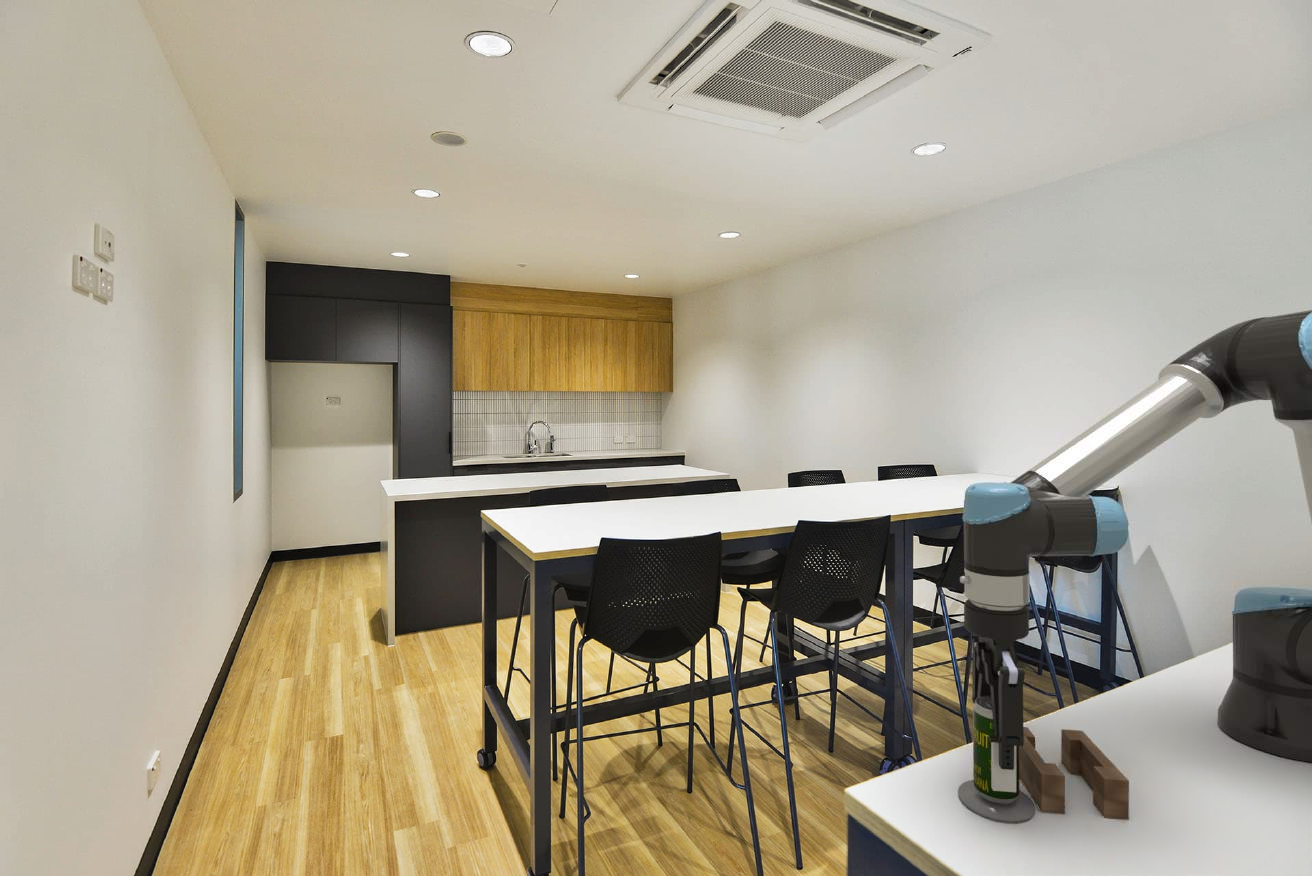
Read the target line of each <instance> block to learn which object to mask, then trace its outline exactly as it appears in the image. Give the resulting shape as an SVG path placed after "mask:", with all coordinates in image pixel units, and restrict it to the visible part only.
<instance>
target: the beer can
mask: <svg viewBox="0 0 1312 876" xmlns="http://www.w3.org/2000/svg"><path fill="white" fill-rule="evenodd" d="M972 714H973V715H972V716H973V717H972V720H973V721H972V723H973V724H972V725H973V727H972V730H973V731H972V732H973V733H972V734H973V735H972V741H973V742H972V745H973V746H972V752H973V754H972V755H973V758H972V761H973V762H972V764H973V767H972V769H973V771H972V772H973V774H972V775H973V776H972V777H973V778H972V780H973V783H974V787H975V789H976V791H977V793H978V794H979V795H980V796H982V797H983V798H985V799H987V800H989V801H992V802H995V803H1001V804H1008V803H1012V802H1014V801H1015V800H1016V799H1017V797H1018V795H1019V790H1020V778H1019V746H1016V792H1005V791H993V789H992V787H991V742H989V739H988V736H994V725H993V713H992V700H991V696H979V697H977V698H976V699H975V704H974V705H973V707H972Z"/></svg>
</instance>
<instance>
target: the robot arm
mask: <svg viewBox="0 0 1312 876" xmlns="http://www.w3.org/2000/svg"><path fill="white" fill-rule="evenodd" d="M1253 401H1271V402H1270V403H1271V406H1272V411H1273V416H1274V419H1275V421H1276V422H1278V423H1281V424H1282V425H1284V426H1285V427H1288V428H1289V429H1291V430H1292V431H1293V436H1294V437H1293V438H1294V443H1295V447H1296V452H1297V456H1298V458H1297V459H1298V462H1299V467H1300V471H1301V476H1302V477H1301V478H1302V483H1303V488H1304V492H1305V497H1306V502H1307V507H1308V512H1309V517H1310V522H1311V524H1312V309H1309V310H1303V311H1297V312H1293V313H1291V312H1290V313H1286V314H1280V315H1273V316H1266V317H1265V316H1264V317H1257V318H1252V319H1249V320H1245V321H1242V322H1239V323H1237V324H1234V325H1232V326H1230V327H1229V326H1228V327H1226V328H1225V329H1223V330H1221V331H1219V332H1217V333H1215V334H1214V335H1212V336H1210V337H1208V338H1207V339H1205V340H1203V341H1202V342H1200V343H1198V344H1197V345H1195V346H1194V347H1192V348H1191V349H1189V350H1188V351H1185V353H1183V354H1182V355H1180V356H1178V357H1177V358H1176V359H1174V360H1173V361H1171V362H1170V363H1169V364H1167V365H1165V366H1164V367H1163V368H1162V369H1161V370H1160V372H1158V379H1157V380H1156V381H1155V382H1154V383H1152V384H1151V385H1150V386H1148V387H1146V388H1145V389H1143V390H1142V391H1140V392H1139V393H1138V394H1136V395H1135V396H1133V397H1132V398H1131V399H1129V400H1127V401H1126V402H1125V403H1123V404H1122V405H1121V406H1119V407H1117V408H1116V409H1115V410H1113V411H1112V412H1111V413H1109V414H1108V415H1106V416H1105V417H1103V418H1102V419H1101V420H1099V421H1098V422H1096V423H1095V424H1093V425H1092V426H1090V427H1088V428H1087V429H1086V430H1085V431H1083V432H1082V433H1080V434H1079V435H1077V436H1076V437H1074V438H1073V439H1071V440H1070V441H1069V442H1067V443H1065V444H1064V445H1063V446H1061V447H1060V448H1059V449H1057V450H1056V451H1054V452H1053V453H1052V454H1050V455H1048V457H1046V458H1044V459H1042V460H1041V461H1039V463H1037V464H1036V465H1034V466H1032V468H1030V469H1029V470H1027V471H1026V472H1024V473H1023V474H1021V475H1020V476H1017V478H1015V479H1014V480H1012V481H1010V482H990V481H989V482H976V483H973V484H970V485H969V486H967V488H966V489H965V491H964V492H965V493H964V500H963V510H962V511H963V512H962V513H963V514H962V521H963V553H964V554H963V559H964V561H963V562H964V563H963V566H964V575H962V576H960V577H959V582H960V583H961V584H963V586H964V597H965V598H966V600H965V602H963V603H964V604H963V624H964V625H963V626H964V628H965V630H967V631H968V632H969V633H970V634H971V635H970V639H971V644H972V645H971V646H972V647H971V648H972V673H971V674H972V675H971V676H972V681H971V682H972V683H971V684H972V685H971V686H972V691H971V692H972V693H971V694H972V697H971V702H972V703H973V704H974V705H975V699H976V698H977V697H979V696H991V700H992V713H993V725H994V736H988V739H989V742H991V787H992V789H993V791H1005V792H1016V746H1023V745H1024V731H1023V727H1024V684H1025V683H1024V682H1025V681H1024V680H1025V675H1026V671H1025V669H1024V667H1023V666H1017V665H1018V662H1019V659H1018V653H1017V651H1016V650H1015V646H1014V642H1016V641H1018V640H1023V639H1025V638H1027V636H1028V635H1029V633H1030V609H1029V608H1028V606H1027V605H1028V604H1029V603H1030V601H1031V600H1030V599H1031V598H1030V597H1031V596H1030V594H1031V593H1030V589H1031V588H1030V587H1031V586H1030V557H1065V556H1068V557H1070V556H1071V557H1072V556H1089V557H1095V556H1099V555H1108V554H1109V555H1110V554H1114V553H1117V552H1119V551H1121V550H1122V549H1123V547H1124V546H1125V545H1126V543H1127V541H1128V538H1129V519H1128V516H1127V514H1126V511H1125V510H1124V508H1123V506H1122V505H1121V504H1120V503H1119V502H1118V501H1116V500H1115V499H1113V498H1111V497H1108V496H1107V497H1106V496H1092V495H1089V494H1091V493H1093V491H1095V490H1097V489H1098V488H1100V486H1103V485H1104V484H1106V483H1107V482H1108V481H1110V480H1111V479H1112V478H1115V477H1116V476H1117V475H1119V473H1121V472H1123V471H1124V470H1126V469H1127V468H1128V467H1130V466H1131V465H1133V464H1134V463H1136V462H1137V461H1139V460H1140V459H1142V458H1144V457H1145V456H1146V455H1148V454H1149V453H1151V452H1152V451H1154V450H1155V449H1156V448H1158V447H1160V446H1161V445H1162V444H1164V443H1165V442H1166V441H1168V440H1170V439H1171V438H1172V437H1174V436H1176V435H1177V434H1179V432H1181V431H1183V430H1184V429H1186V428H1187V427H1188V426H1190V425H1191V424H1193V423H1194V422H1196V421H1197V420H1199V419H1200V418H1202V419H1211V418H1214V417H1216V416H1219V414H1221V413H1222V412H1224V411H1225V410H1227V409H1229V408H1231V407H1234V406H1237V405H1240V404H1243V403H1248V402H1253ZM1231 679H1232V680H1231V682H1230V683H1229V686H1228V687H1227V690H1226V692H1225V694H1224V696H1223V698H1222V701H1221V703H1220V705H1219V707H1218V709H1217V726H1218V727H1219V729H1220V730H1221V731H1222V732H1223V733H1225V734H1226V735H1227V736H1229V737H1230V738H1232V739H1234V740H1236V741H1238V742H1240V743H1241V744H1244V745H1247V746H1250V747H1251V748H1254V749H1257V750H1259V751H1262V752H1265V753H1269V754H1272V755H1276V756H1280V757H1283V758H1286V759H1287V758H1288V759H1291V760H1292V759H1293V760H1298V761H1303V762H1310V763H1312V589H1306V588H1295V587H1277V586H1276V587H1272V586H1270V587H1269V586H1267V587H1266V586H1265V587H1264V586H1261V587H1260V586H1258V587H1247V588H1246V587H1245V588H1243V589H1241V590H1239V591H1238V592H1236V594H1235V596H1234V603H1233V611H1232V678H1231Z"/></svg>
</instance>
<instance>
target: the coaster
mask: <svg viewBox="0 0 1312 876" xmlns="http://www.w3.org/2000/svg"><path fill="white" fill-rule="evenodd" d="M957 795H958V796H957V797H958V800H959V801H960V803H961V804H962V805H963V806H964V807H965V808H966V809H967V810H969V811H971V812H972V813H973V814H975V815H977V816H980V817H981V818H984V819H987V820H990V821H993V822H998V823H1002V824H1003V823H1004V824H1022V823H1026V822H1029V821H1030V820H1032V819H1033V818H1034V817H1035V814H1036V806H1035V805H1036V804H1035V802H1034V800H1032V797H1031V796H1029V795H1027V794H1026V793H1025V792H1024V791H1022V790H1020V789H1019V795H1018V797H1017V799H1016V800H1015V801H1014V802H1012V803H1008V804H1001V803H995V802H992V801H989V800H987V799H985V798H983V797H982V796H980V795H979V794H978V793H977V791H976V789H975V787H974V783H973V779H969V780H965V781H964V782H962V783H961V784H960V785H959V786H958V789H957ZM1030 797H1031V798H1030Z"/></svg>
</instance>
